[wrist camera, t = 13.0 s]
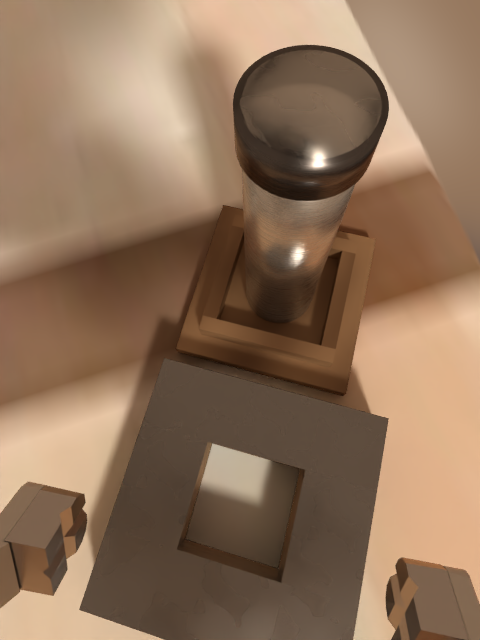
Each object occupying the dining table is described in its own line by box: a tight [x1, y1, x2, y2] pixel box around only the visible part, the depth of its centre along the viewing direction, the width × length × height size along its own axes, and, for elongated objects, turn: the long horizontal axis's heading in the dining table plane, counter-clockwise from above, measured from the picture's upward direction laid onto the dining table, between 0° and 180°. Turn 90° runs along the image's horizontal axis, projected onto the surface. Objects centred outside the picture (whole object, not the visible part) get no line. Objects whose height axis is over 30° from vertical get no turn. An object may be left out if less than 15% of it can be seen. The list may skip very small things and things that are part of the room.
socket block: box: [79, 358, 389, 640], centre depth 21 cm, size 12×12×2 cm
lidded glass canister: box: [233, 45, 389, 323], centre depth 18 cm, size 4×4×14 cm
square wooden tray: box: [176, 205, 376, 396], centre depth 25 cm, size 10×10×2 cm
